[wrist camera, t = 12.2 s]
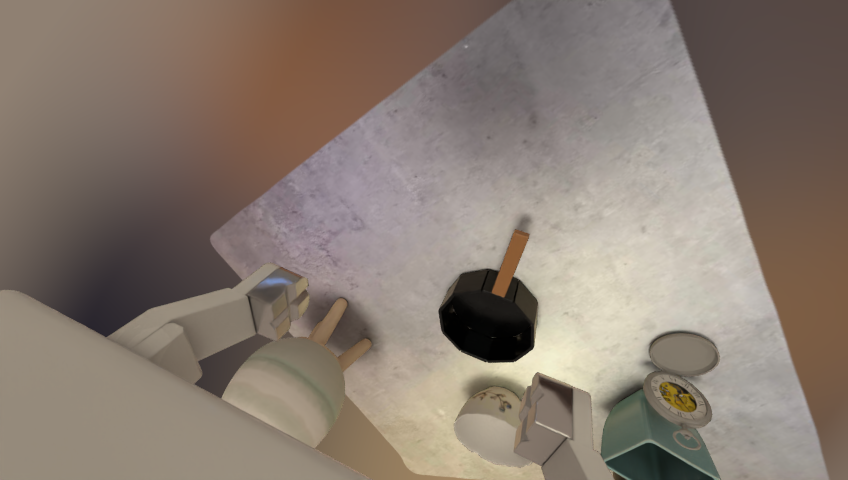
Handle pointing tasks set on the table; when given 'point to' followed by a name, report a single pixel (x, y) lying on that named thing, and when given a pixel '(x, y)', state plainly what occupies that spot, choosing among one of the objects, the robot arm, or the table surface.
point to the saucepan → (492, 311)
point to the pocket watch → (681, 381)
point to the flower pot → (651, 445)
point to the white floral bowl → (491, 426)
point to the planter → (297, 381)
